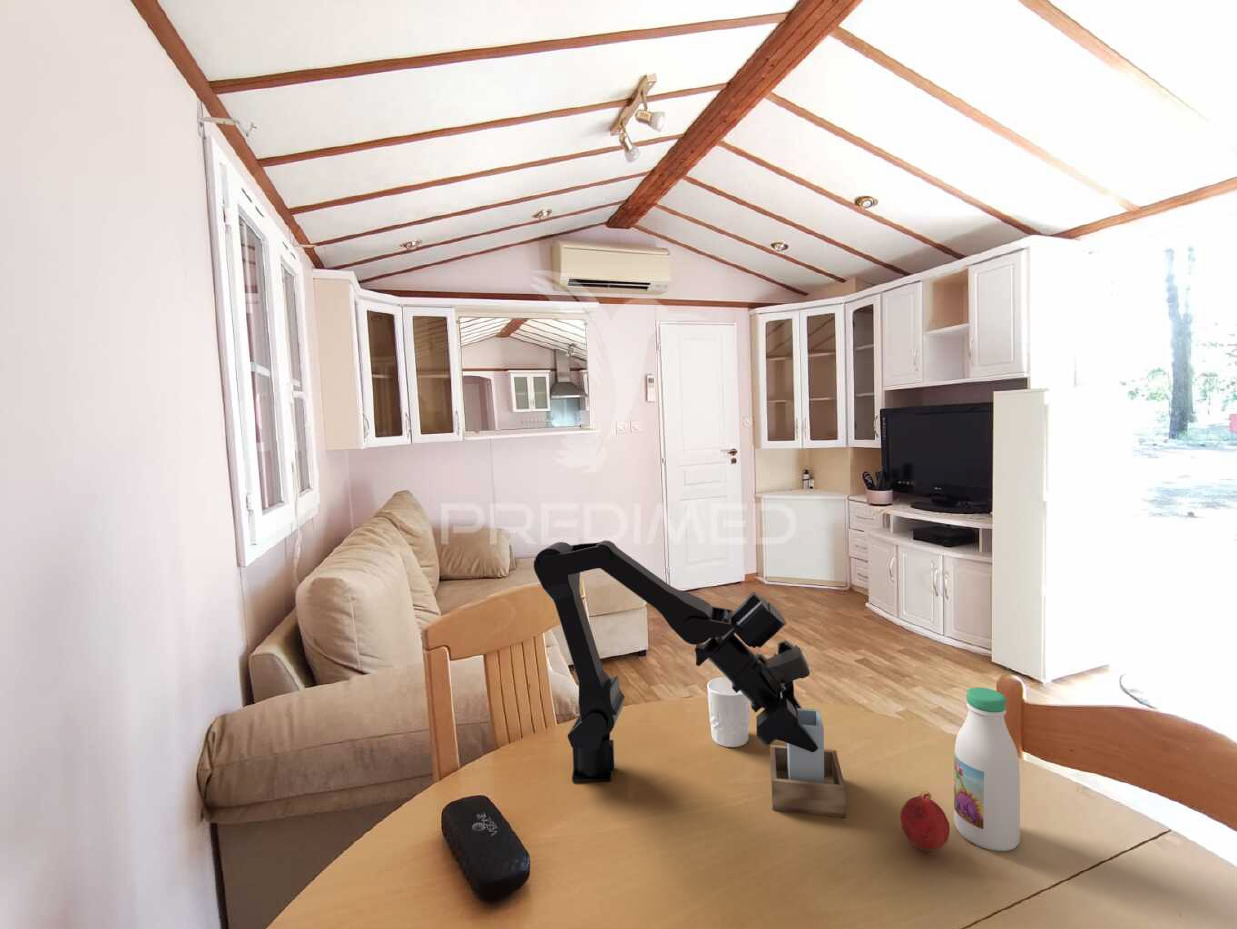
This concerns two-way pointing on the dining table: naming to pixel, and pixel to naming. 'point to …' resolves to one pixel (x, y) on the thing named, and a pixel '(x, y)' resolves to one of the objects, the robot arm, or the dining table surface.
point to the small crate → (803, 761)
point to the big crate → (807, 787)
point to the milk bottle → (987, 775)
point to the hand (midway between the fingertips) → (813, 739)
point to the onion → (924, 822)
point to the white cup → (728, 713)
